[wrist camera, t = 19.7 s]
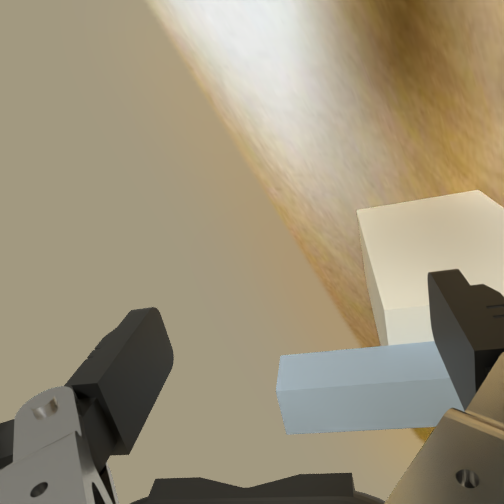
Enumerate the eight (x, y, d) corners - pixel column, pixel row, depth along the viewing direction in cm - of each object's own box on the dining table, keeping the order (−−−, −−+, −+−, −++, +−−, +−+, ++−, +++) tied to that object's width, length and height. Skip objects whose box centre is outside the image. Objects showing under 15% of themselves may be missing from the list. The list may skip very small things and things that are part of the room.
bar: (280, 355, 32) (275, 391, 29) (674, 318, 27) (731, 356, 23) (290, 395, 34) (286, 434, 30) (666, 368, 28) (717, 412, 25)
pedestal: (356, 210, 51) (384, 310, 30) (478, 189, 48) (610, 284, 26) (365, 281, 55) (397, 417, 33) (480, 266, 52) (597, 406, 30)
